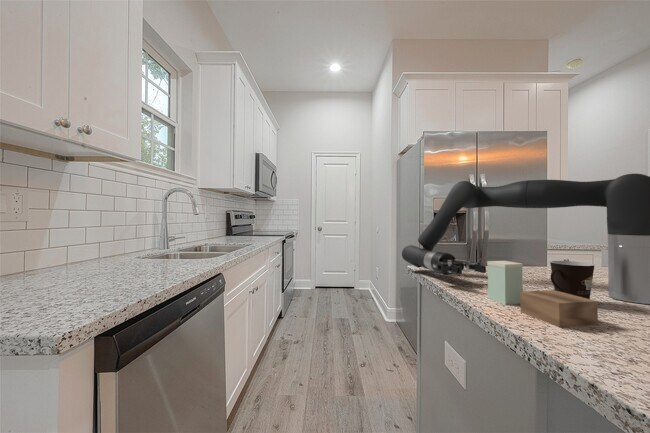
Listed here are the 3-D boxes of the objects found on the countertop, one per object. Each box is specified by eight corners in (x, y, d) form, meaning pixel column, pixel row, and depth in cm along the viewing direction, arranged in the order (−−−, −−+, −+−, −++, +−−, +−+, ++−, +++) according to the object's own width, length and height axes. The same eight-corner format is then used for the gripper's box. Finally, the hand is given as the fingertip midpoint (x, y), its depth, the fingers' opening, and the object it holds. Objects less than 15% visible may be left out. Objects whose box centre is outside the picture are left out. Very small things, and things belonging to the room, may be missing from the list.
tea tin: (504, 297, 75) (504, 260, 76) (523, 303, 70) (523, 263, 70) (487, 298, 74) (487, 261, 74) (505, 304, 69) (504, 264, 69)
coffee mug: (576, 297, 75) (575, 260, 75) (605, 307, 67) (604, 266, 67) (531, 296, 76) (530, 260, 77) (553, 305, 68) (553, 265, 68)
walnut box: (554, 311, 64) (554, 290, 65) (597, 326, 56) (597, 301, 56) (520, 313, 63) (520, 291, 63) (559, 328, 54) (559, 303, 54)
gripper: (421, 252, 97) (452, 258, 81) (456, 251, 100) (492, 257, 85) (421, 273, 97) (452, 283, 81) (456, 271, 100) (492, 281, 84)
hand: (473, 270), depth 83 cm, fingers open, 8 cm apart
